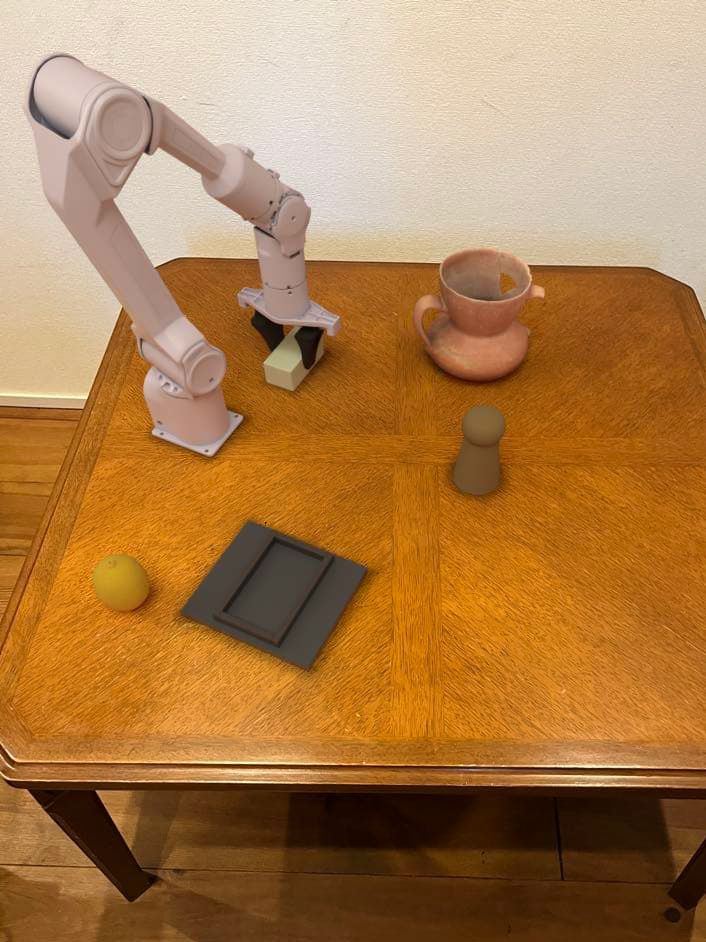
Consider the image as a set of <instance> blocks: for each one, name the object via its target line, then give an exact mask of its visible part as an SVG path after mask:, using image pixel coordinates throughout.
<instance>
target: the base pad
mask: <svg viewBox="0 0 706 942" xmlns="http://www.w3.org/2000/svg"><path fill="white" fill-rule="evenodd" d="M368 572H369V571H368V567H367V566H365V565H362V564H359V563H357V562H354V561H352V560H349V559H347V558H345V557H342V556H339V555H337V554H335V553H332V552H330V551H327V550H324V549H323V548H319V547H317V546H314V545H312V544H309V543H307V542H304V541H302V540H299V539H297V538H294V537H292V536H289V535H287V534H284V533H282V532H280V531H277V530H274V529H272V528H269V527H267V526H264V525H263V524H260V523H257V522H255V521H253V520H249V519H248V520H246V522H245V524H244V525H243V526H242V528H241V529H240V530H239V532H238V533H237V535H235V537H234V538H233V539H232V541H231V542H230V543H229V545H228V546H227V547H226V549H225V550H224V552H223V553H222V554H221V555H220V557H219V558H218V560H217V561H216V562H215V564H214V565H213V567H212V568H211V569H210V571H209V572H208V573H207V574H206V576H205V577H204V578H203V580H202V581H201V582H200V584H199V585H198V587H197V588H196V589H195V591H193V593H192V595H191V596H190V598H189V599H188V600H187V601H186V603H185V604H184V606H182V608H181V610H180V611H179V612H180V613H181V616H182V617H183V618H187V619H189V620H191V621H194V622H196V623H198V624H200V625H203V626H204V627H206V628H209V629H211V630H214V631H215V632H218V633H221V634H223V635H225V636H227V637H230V638H231V639H234V640H236V641H239V642H241V643H243V644H246V645H247V646H249V647H251V648H254V649H256V650H259V651H261V652H263V653H265V654H268V655H270V656H272V657H274V658H276V659H279V660H281V661H282V662H285V663H288V664H290V665H292V666H294V667H296V668H299V669H301V670H303V671H306V672H307V673H309V672H310V671H311V669H312V667H313V666H314V664H315V662H316V660H317V659H318V657H319V656H320V654H321V652H322V651H323V648H324V647H325V645H326V644H327V642H328V640H329V638H330V637H331V635H332V633H333V632H334V630H335V628H336V626H337V625H338V624H339V621H340V620H341V618H342V616H343V615H344V613H345V612H346V610H347V608H348V606H349V605H350V603H351V601H352V599H353V598H354V596H355V595H356V593H357V591H358V589H359V588H360V587H361V584H362V583H363V581H364V579H365V578H366V576H367V574H368Z"/></svg>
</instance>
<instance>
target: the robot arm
mask: <svg viewBox="0 0 706 942" xmlns="http://www.w3.org/2000/svg"><path fill="white" fill-rule="evenodd" d="M21 108H22V111H23V113H24V115H25V117H26V119H27V121H28V124H29V126H30V127H31V130H32V132H33V136H34V143H35V148H36V149H35V150H36V156H37V161H38V167H39V173H40V179H41V185H42V190H43V194H44V196H45V199H46V201H47V202H48V204H49V206H50V207H51V208H52V209H53V211H54V212H55V213H56V215H57V216H58V218H59V219H60V221H61V222H62V224H63V225H64V226H65V228H66V230H68V232H69V233H70V235H71V236H72V238H73V239H74V241H75V242H76V243H77V244H78V246H79V248H80V249H81V250H82V252H83V253H84V254H85V256H86V258H87V259H88V260H89V262H90V263H91V265H92V266H93V267H94V268H95V271H97V273H98V274H99V276H100V278H102V280H103V282H104V283H105V284H106V286H107V287H108V288H109V290H110V291H111V293H112V294H113V295H114V298H116V300H117V302H119V304H120V305H121V306H122V309H124V312H126V314H127V315H128V317H129V318H130V319H131V321H132V323H131V326H130V329H131V331H132V332H133V334H134V336H135V337H136V343H137V350H138V353H139V356H141V359H143V360H144V361H146V363H149V364H151V365H152V366H151V368H150V369H149V370H148V372H147V373H146V375H145V377H144V381H143V388H142V392H143V393H142V394H143V397H144V400H145V403H146V406H147V408H148V411H149V415H150V417H151V419H152V423H153V425H154V428H152V431H151V434H152V436H153V437H156V438H159V439H161V440H164V441H165V442H166V441H167V442H170V443H172V444H173V445H177V446H179V447H182V448H185V449H188V450H190V451H193V452H195V453H198V454H201V455H203V456H206V457H208V458H211V457H214V455H216V453H218V451H219V450H220V448H222V446H223V445H224V444H225V442H226V441H227V440H228V439H229V437H231V436H232V434H233V433H234V432H235V431H236V429H238V427H239V426H240V425H241V424H242V422H243V421H244V416H243V415H242V414H239V413H236V412H234V411H231V410H228V408H227V404H226V399H225V397H224V392H223V389H222V381H223V379H224V377H225V374H226V371H227V366H228V365H227V364H228V363H227V357H226V355H225V354H224V352H223V350H221V349H220V348H218V347H216V346H214V345H212V344H210V343H209V341H208V340H207V339H206V336H205V335H204V334H203V333H202V332H201V331H200V330H199V329H198V328H197V327H196V326H195V325H194V324H193V323H192V322H191V321H190V319H188V318H187V317H186V316H185V315H184V313H183V312H182V310H181V308H180V306H179V305H178V303H177V302H176V301H175V299H174V297H173V295H172V293H171V292H170V290H169V289H168V287H167V285H166V284H165V282H164V280H163V279H162V277H161V275H160V274H159V272H158V271H157V269H156V267H155V265H154V264H153V263H152V261H151V259H150V258H149V256H148V254H147V252H146V251H145V249H144V248H143V246H142V245H141V243H140V241H139V240H138V238H137V237H136V234H135V233H134V232H133V230H132V227H130V225H129V224H128V221H127V220H126V219H125V217H124V216H123V214H122V212H121V210H120V209H119V207H118V205H117V204H116V202H115V199H116V198H118V197H119V195H120V193H121V191H122V190H123V188H124V186H125V185H126V184H127V183H126V182H128V179H129V178H130V176H131V174H132V173H133V171H134V169H135V168H136V166H137V164H138V163H139V162H140V160H141V157H142V156H143V154H145V155H146V156H154V154H155V153H156V152H157V150H158V149H160V150H161V151H163V152H165V153H166V154H168V155H169V156H171V157H173V158H174V159H176V160H177V161H179V162H181V163H182V164H184V165H185V166H187V167H188V168H190V169H191V170H193V171H195V172H196V173H198V174H200V180H201V185H202V187H203V189H204V191H205V193H206V194H207V195H208V196H209V197H211V198H213V199H214V200H216V201H217V202H219V203H220V204H221V205H223V206H225V207H226V208H228V209H229V210H231V211H233V212H234V213H236V214H237V215H239V216H240V217H241V219H242V220H243V221H244V222H245V221H248V222H249V223H250V224H251V225H253V227H252V228H253V234H254V241H255V246H256V253H257V260H258V265H259V266H258V267H259V272H260V278H261V285H262V288H261V289H259V288H252V287H251V288H250V287H247V286H244V287H243V288H242V289H241V290H240V291H239V292H238V293H237V294H236V296H237V302H238V306H239V308H240V307H241V308H243V309H247V308H248V307H251V308H253V309H254V315H253V316H252V317H251V318H250V324H251V326H252V327H253V328H254V329H255V330H256V331H257V332H258V333H259V334H260V336H261V337H262V338H263V341H265V343H266V345H267V347H268V349H269V350H270V352H271V353H272V352H273V351H274V350H275V349H276V348H277V347H278V345H279V344H280V343H281V342H282V341H283V340H284V338H285V337H286V336H285V331H284V330H285V329H284V326H298V327H301V328H300V329H299V330H298V332H297V333H296V334H295V335H294V338H295V340H296V341H297V343H298V345H299V347H300V351H301V355H302V362H303V365H304V368H305V369H307V370H309V369H310V368H311V367H312V366H313V364H314V363H315V361H316V354H317V349H318V345H319V342H320V339H321V337H323V334H324V333H325V332H326V335H327V336H329V337H332V338H333V337H335V336H336V335H337V334H338V332H339V331H340V330H341V317H340V316H339V315H336V314H334V313H331V312H330V311H329V310H327V309H326V308H325V307H322V305H320V304H318V303H317V302H315V301H313V300H312V299H311V298H310V297H309V296H310V295H309V294H310V293H309V285H308V277H307V268H306V267H307V266H306V257H305V246H306V245H305V244H306V243H307V238H306V232H307V229H308V226H309V224H310V221H311V216H312V207H311V206H309V205H307V202H306V201H305V200H306V198H305V196H304V195H303V194H302V193H301V192H300V191H298V190H297V189H294V188H293V187H291V186H289V185H288V184H285V183H284V182H282V181H281V180H280V178H281V175H280V173H279V172H277V171H276V170H274V169H273V168H271V167H268V168H266V167H264V166H263V165H261V164H260V163H259V162H257V161H256V160H255V159H254V157H255V154H256V153H255V152H254V151H253V150H252V149H251V148H249V147H248V146H246V145H244V144H242V143H238V144H237V145H235V144H232V143H221V144H218V145H215V144H214V143H212V142H211V141H210V140H209V139H208V138H206V137H205V136H203V135H202V134H201V133H200V132H199V131H197V130H196V129H195V128H194V127H193V126H191V125H190V124H189V123H188V122H186V121H185V120H184V119H183V118H182V117H180V116H179V114H176V112H174V111H173V110H172V109H171V108H170V107H168V106H167V105H165V104H164V103H162V102H160V101H159V100H157V99H155V98H153V97H151V96H149V95H147V94H145V93H143V92H142V91H141V90H138V89H136V88H134V87H131V86H130V85H128V84H126V83H125V82H122V81H120V80H118V79H115V78H114V77H112V76H110V75H108V74H106V73H104V72H102V71H100V70H98V69H96V68H94V69H93V68H91V67H90V66H88V65H86V64H85V63H84V62H83V61H81V60H80V59H78V58H77V57H76V56H73V55H71V54H70V53H67V52H51V53H47V54H45V55H44V56H42V57H41V58H39V59H38V61H37V62H35V64H34V65H33V67H32V69H31V71H30V74H29V77H28V81H27V85H26V90H25V94H24V98H23V103H22V107H21ZM271 353H270V354H271ZM313 367H314V366H313Z"/></svg>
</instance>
